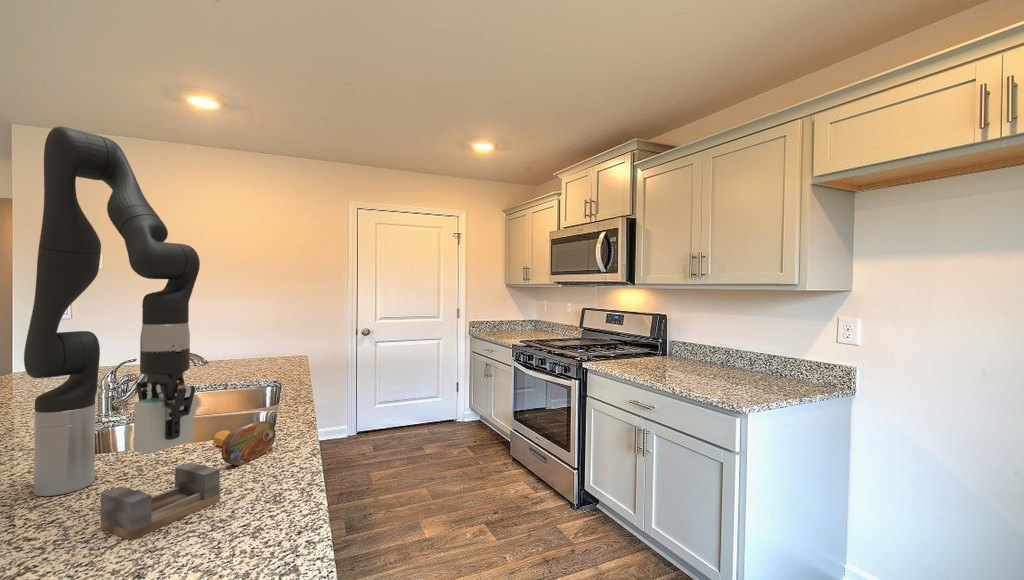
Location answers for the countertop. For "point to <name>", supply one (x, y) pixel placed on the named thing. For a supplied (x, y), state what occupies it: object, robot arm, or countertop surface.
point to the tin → (248, 442)
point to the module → (157, 427)
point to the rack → (159, 502)
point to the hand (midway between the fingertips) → (164, 436)
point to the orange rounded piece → (222, 435)
